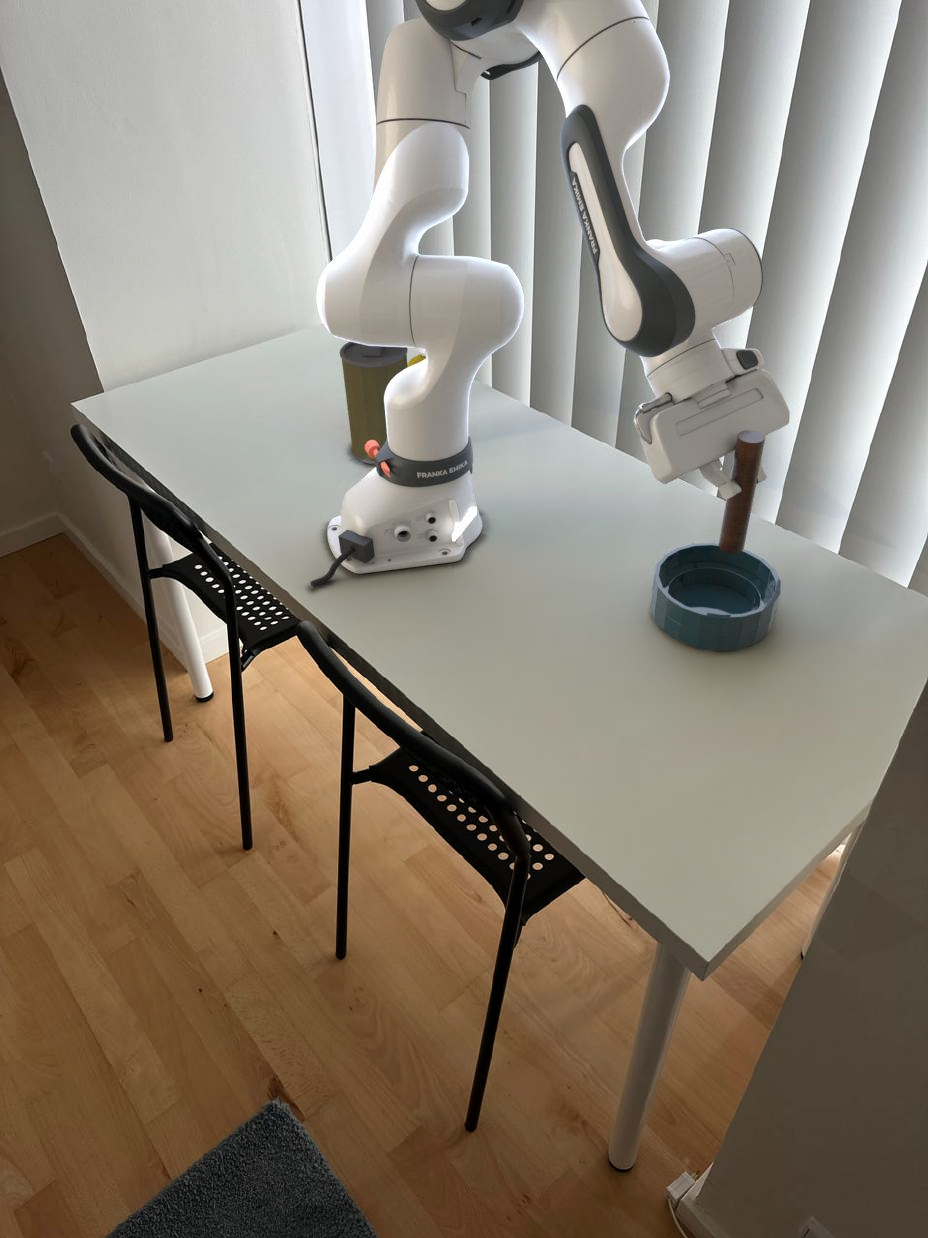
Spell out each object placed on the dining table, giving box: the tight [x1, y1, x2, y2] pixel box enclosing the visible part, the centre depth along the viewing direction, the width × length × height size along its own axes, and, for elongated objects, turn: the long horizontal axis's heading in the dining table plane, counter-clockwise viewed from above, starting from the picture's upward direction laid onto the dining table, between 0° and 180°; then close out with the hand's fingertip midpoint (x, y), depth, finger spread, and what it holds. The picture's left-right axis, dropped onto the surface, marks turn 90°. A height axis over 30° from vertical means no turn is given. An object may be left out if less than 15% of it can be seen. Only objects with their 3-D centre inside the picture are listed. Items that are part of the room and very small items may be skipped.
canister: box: [339, 341, 408, 466], centre depth 150 cm, size 11×10×20 cm
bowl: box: [649, 542, 782, 652], centre depth 119 cm, size 15×15×6 cm
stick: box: [718, 430, 766, 554], centre depth 110 cm, size 3×3×15 cm
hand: (746, 489), depth 109 cm, fingers closed on stick, 3 cm apart
